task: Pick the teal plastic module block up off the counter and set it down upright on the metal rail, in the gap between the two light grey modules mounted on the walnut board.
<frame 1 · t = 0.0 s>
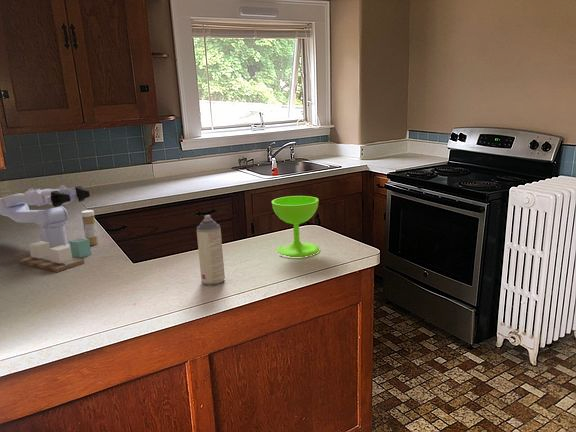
hand: (79, 195, 165), 22 cm above the counter, tool horizontal, fingers open, 7 cm apart
wineglass: (297, 251, 162), on the counter
module: (81, 255, 169), on the counter
mounted modules: (50, 251, 161), on the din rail, point 4 cm above the counter
aerosol can: (213, 282, 138), on the counter
sprinkles bottle: (92, 244, 183), on the counter
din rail: (51, 258, 162), on the rail board, point 1 cm above the counter
rail board: (52, 262, 162), on the counter
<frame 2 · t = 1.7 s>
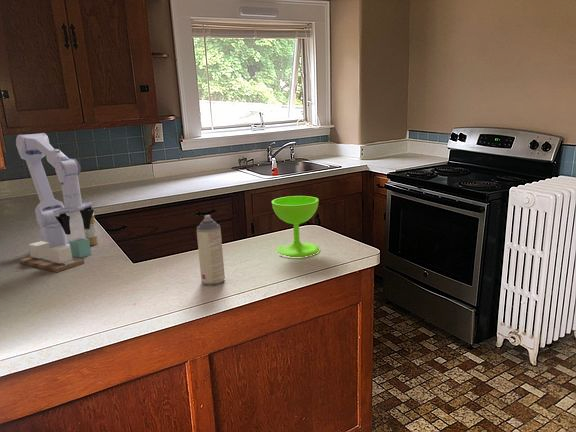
hand: (77, 231, 167), 9 cm above the counter, tool pointing down, fingers open, 7 cm apart
nothing on the counter moved.
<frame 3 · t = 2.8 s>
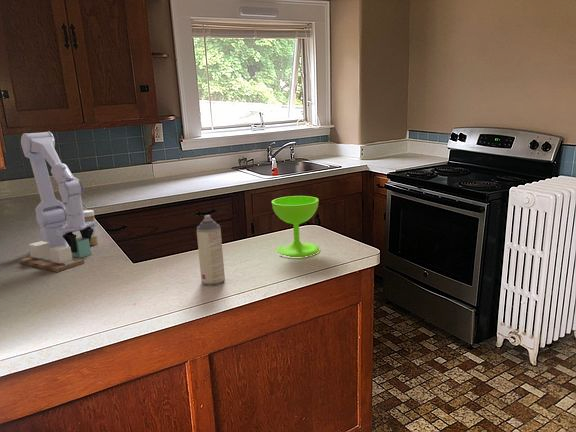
hand: (80, 250, 169), 2 cm above the counter, tool pointing down, fingers closed on module, 4 cm apart
module: (81, 255, 169), on the counter, touching gripper
everything else where it was.
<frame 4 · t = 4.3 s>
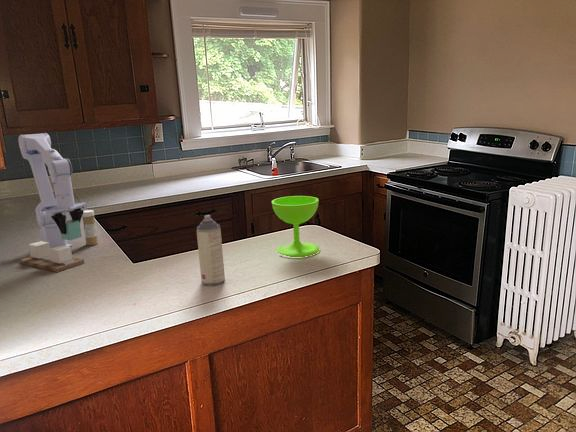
hand: (70, 231, 165), 9 cm above the counter, tool pointing down, fingers closed on module, 4 cm apart
module: (71, 237, 166), point 7 cm above the counter, touching gripper
everything else where it was.
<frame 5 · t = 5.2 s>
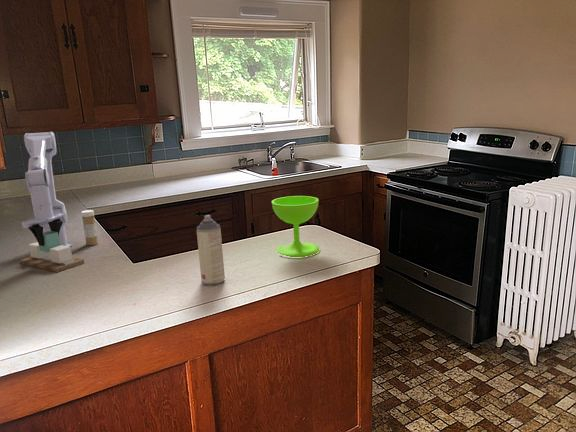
hand: (48, 243, 160), 7 cm above the counter, tool pointing down, fingers closed on module, 4 cm apart
module: (50, 249, 161), point 5 cm above the counter, touching gripper
everything else where it was.
when the fingers open (5 cm above the counter, at t = 6.0 s): module drops 1 cm, resting on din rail.
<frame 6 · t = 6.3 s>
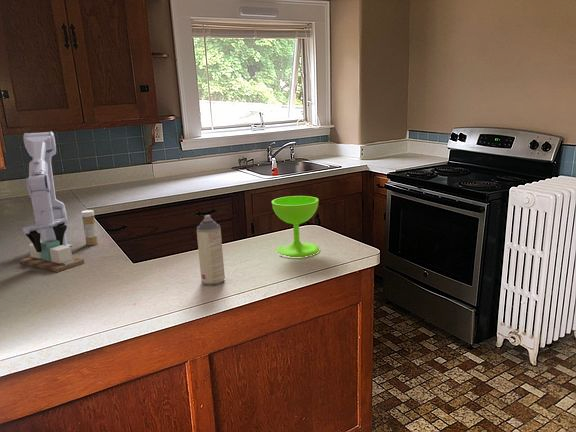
hand: (49, 248, 161), 5 cm above the counter, tool pointing down, fingers open, 7 cm apart
module: (51, 258, 162), point 2 cm above the counter, touching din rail
everything else where it was.
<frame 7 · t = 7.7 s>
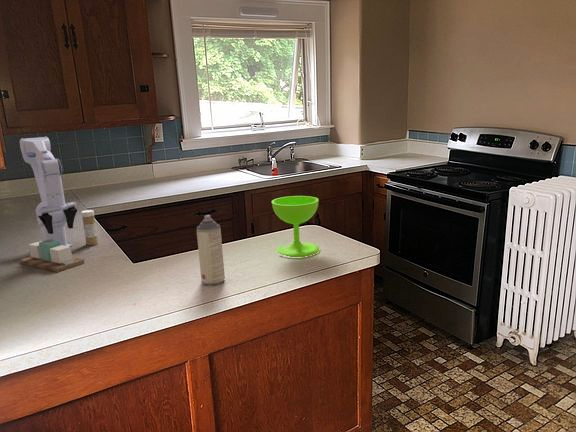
hand: (60, 230, 168), 9 cm above the counter, tool pointing down, fingers open, 7 cm apart
nothing on the counter moved.
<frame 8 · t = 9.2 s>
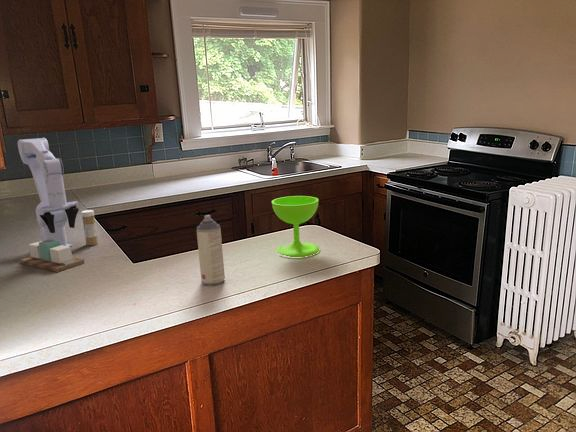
hand: (62, 230, 168), 9 cm above the counter, tool pointing down, fingers open, 7 cm apart
nothing on the counter moved.
at the end: module 0.2 cm off-centre on the rail board, point 1.8 cm above the rail board's base; module tilted 0°; the gripper is holding nothing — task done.
